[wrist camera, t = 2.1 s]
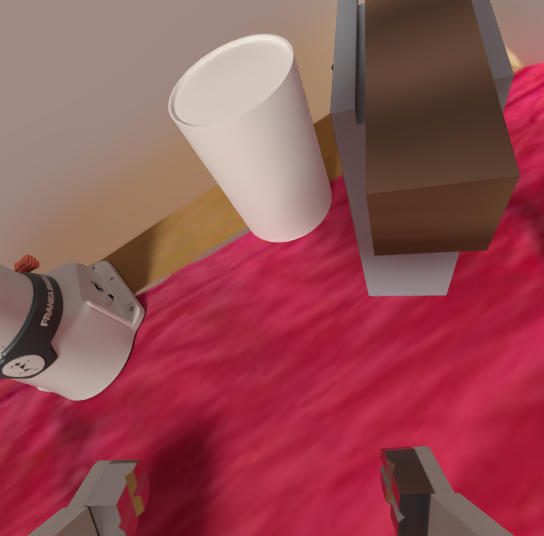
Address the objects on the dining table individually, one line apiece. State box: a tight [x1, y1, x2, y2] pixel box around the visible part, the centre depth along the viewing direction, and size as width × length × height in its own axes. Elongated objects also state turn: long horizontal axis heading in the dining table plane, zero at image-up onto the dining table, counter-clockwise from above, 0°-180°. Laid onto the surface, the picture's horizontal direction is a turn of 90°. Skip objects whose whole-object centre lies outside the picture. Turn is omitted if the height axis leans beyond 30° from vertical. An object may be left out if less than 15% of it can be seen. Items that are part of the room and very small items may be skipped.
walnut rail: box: [365, 0, 520, 256], centre depth 15 cm, size 19×4×4 cm, turn 173°
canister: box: [168, 34, 332, 242], centre depth 40 cm, size 14×14×20 cm
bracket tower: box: [330, 0, 514, 296], centre depth 28 cm, size 12×8×25 cm, turn 173°
